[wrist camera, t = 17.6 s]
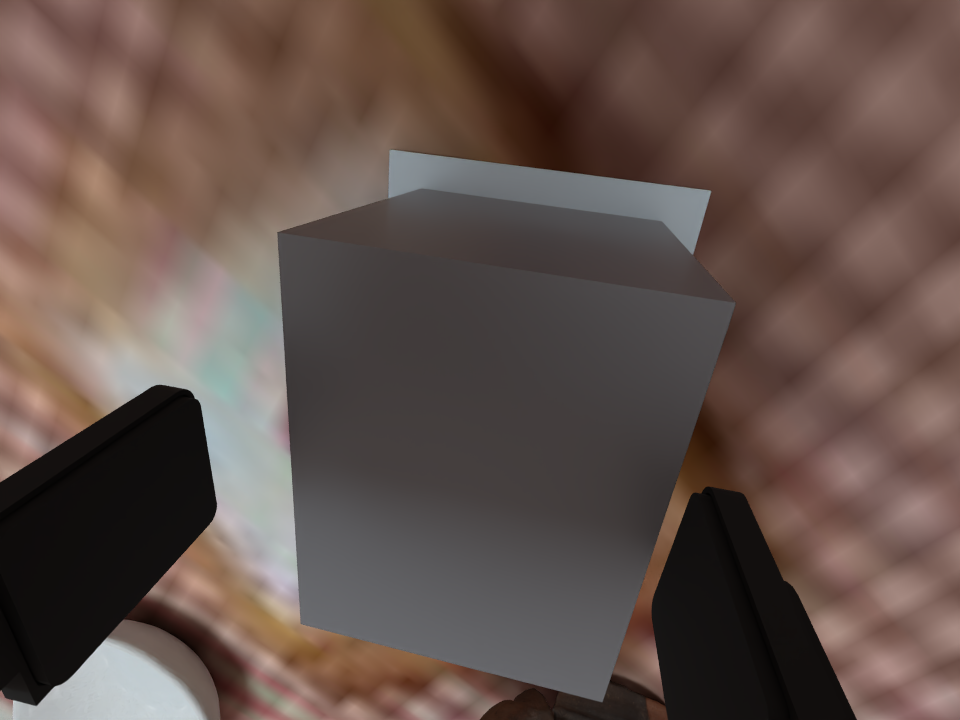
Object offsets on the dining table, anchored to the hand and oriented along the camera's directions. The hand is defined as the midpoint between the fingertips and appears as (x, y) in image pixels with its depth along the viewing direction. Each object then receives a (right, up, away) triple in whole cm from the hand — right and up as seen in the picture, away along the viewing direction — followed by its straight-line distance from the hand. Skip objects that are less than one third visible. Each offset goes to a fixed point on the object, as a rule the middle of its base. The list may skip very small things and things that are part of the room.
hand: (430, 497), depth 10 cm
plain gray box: (+2, +3, +9) cm, 10 cm away
